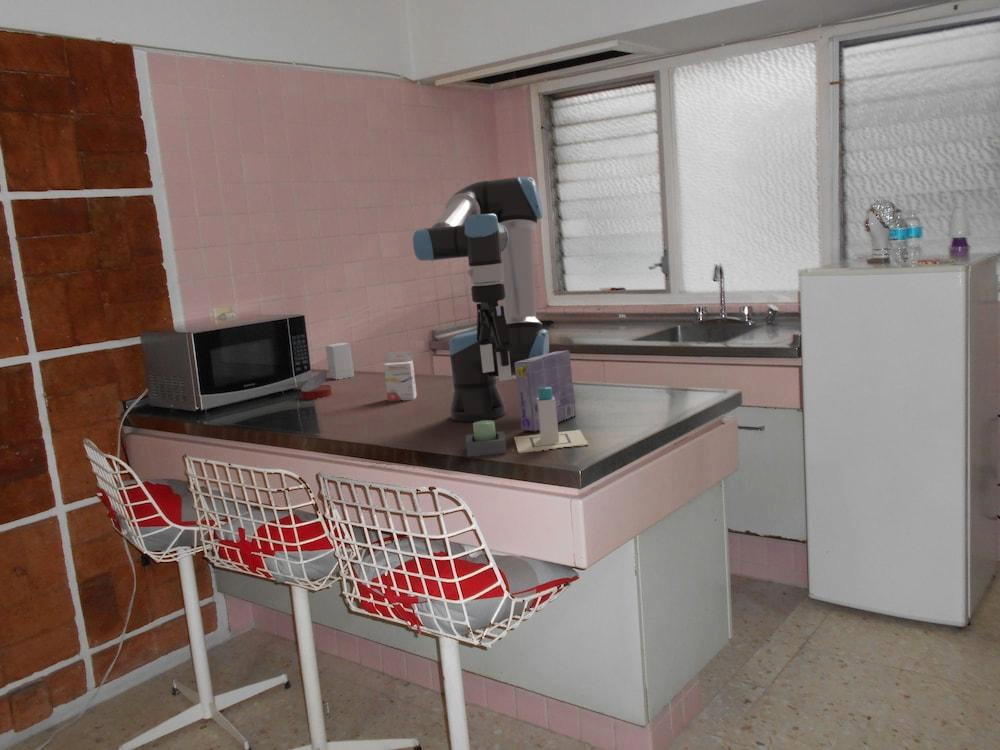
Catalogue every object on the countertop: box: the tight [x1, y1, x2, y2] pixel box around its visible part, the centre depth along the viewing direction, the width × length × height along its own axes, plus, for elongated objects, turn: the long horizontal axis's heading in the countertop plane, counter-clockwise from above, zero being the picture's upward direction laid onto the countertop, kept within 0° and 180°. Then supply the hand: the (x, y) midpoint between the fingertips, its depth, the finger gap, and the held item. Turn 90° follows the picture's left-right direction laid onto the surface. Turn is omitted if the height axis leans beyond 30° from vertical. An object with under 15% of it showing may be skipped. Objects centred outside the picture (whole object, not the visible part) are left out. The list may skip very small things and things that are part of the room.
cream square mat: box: [513, 429, 589, 454], centre depth 209 cm, size 14×16×1 cm
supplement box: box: [325, 342, 355, 381], centre depth 333 cm, size 7×7×13 cm
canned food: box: [300, 370, 333, 400], centre depth 299 cm, size 11×10×10 cm
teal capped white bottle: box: [537, 387, 559, 443], centre depth 208 cm, size 4×4×12 cm
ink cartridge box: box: [383, 350, 417, 402], centre depth 279 cm, size 9×5×15 cm, turn 84°
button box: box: [465, 430, 508, 458], centre depth 207 cm, size 9×9×3 cm
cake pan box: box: [515, 349, 577, 433], centre depth 226 cm, size 19×5×18 cm, turn 141°
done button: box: [472, 419, 497, 442], centre depth 207 cm, size 5×5×4 cm
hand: (496, 376), depth 205 cm, fingers open, 13 cm apart
